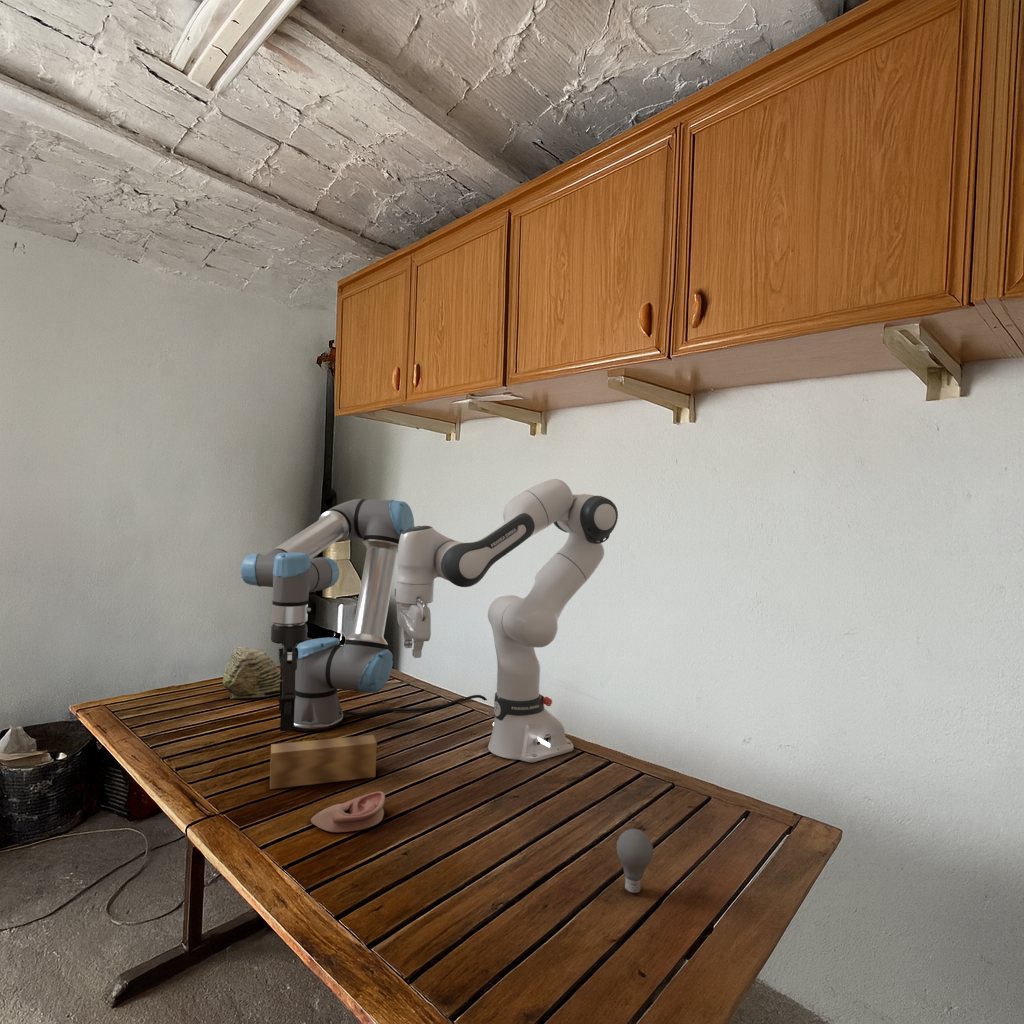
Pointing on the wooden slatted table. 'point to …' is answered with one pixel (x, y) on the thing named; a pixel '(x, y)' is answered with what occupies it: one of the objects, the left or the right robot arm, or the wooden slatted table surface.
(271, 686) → the fossil
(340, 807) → the anatomical model
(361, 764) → the bar
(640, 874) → the light bulb
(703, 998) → the wooden slatted table surface
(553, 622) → the right robot arm
